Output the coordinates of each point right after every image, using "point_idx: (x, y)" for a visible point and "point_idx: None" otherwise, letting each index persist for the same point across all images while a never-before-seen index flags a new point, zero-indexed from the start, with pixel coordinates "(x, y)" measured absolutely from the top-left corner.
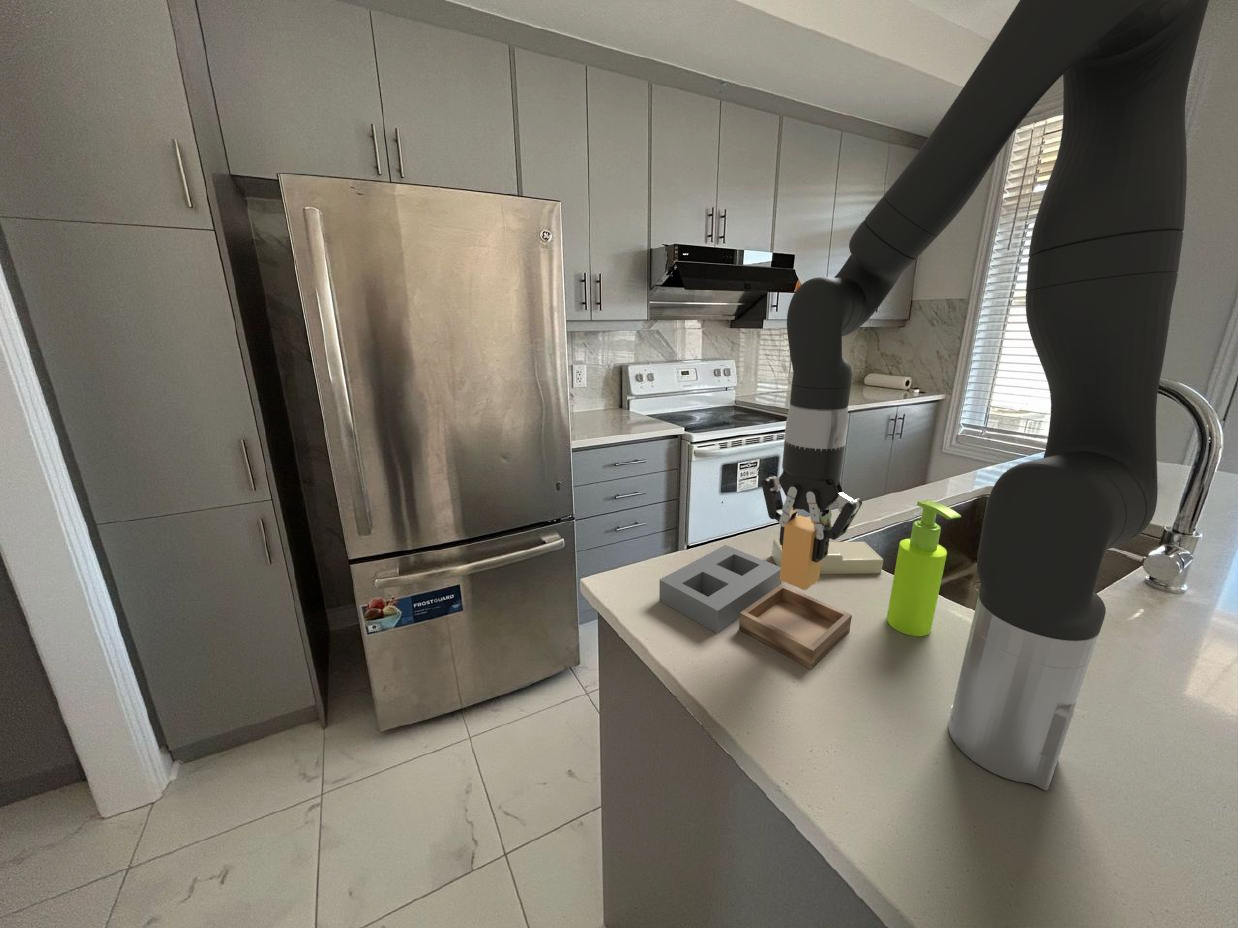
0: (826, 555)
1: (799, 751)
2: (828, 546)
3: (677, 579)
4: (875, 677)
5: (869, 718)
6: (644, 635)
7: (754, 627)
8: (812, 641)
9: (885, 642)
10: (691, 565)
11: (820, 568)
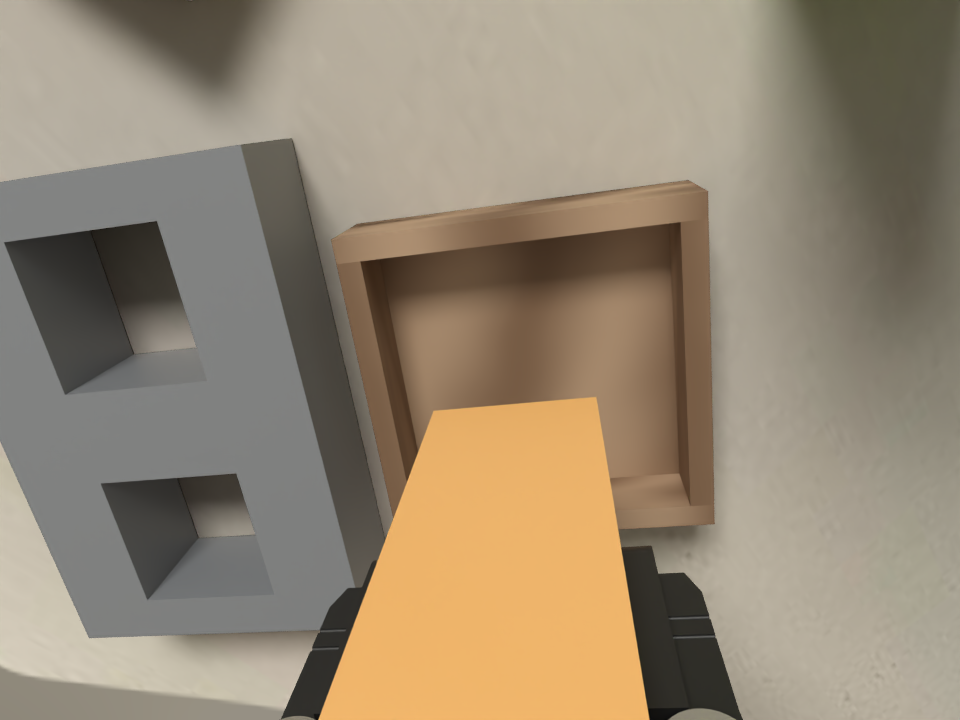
0: (693, 585)
1: (826, 714)
2: (719, 648)
3: (116, 594)
4: (879, 351)
5: (927, 522)
6: (284, 701)
7: None
8: (636, 390)
9: (834, 114)
10: (35, 484)
11: (602, 434)
